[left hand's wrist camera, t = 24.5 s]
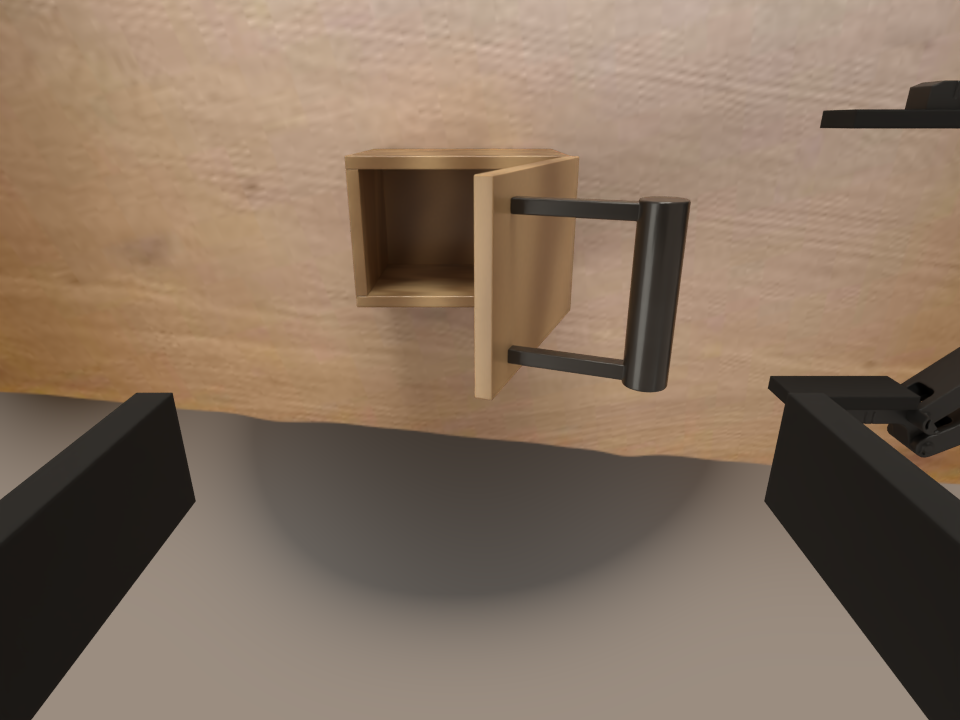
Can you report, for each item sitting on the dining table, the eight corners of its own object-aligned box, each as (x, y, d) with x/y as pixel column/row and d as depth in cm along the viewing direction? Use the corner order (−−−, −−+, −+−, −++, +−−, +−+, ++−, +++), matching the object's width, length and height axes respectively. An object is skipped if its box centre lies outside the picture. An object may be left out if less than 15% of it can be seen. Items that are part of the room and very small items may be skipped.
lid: (474, 397, 26) (658, 429, 24) (473, 174, 23) (689, 181, 20) (557, 308, 39) (684, 322, 36) (565, 156, 35) (706, 158, 33)
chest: (381, 271, 49) (356, 307, 39) (373, 149, 45) (344, 156, 36) (547, 271, 49) (562, 307, 39) (552, 149, 45) (571, 155, 36)
